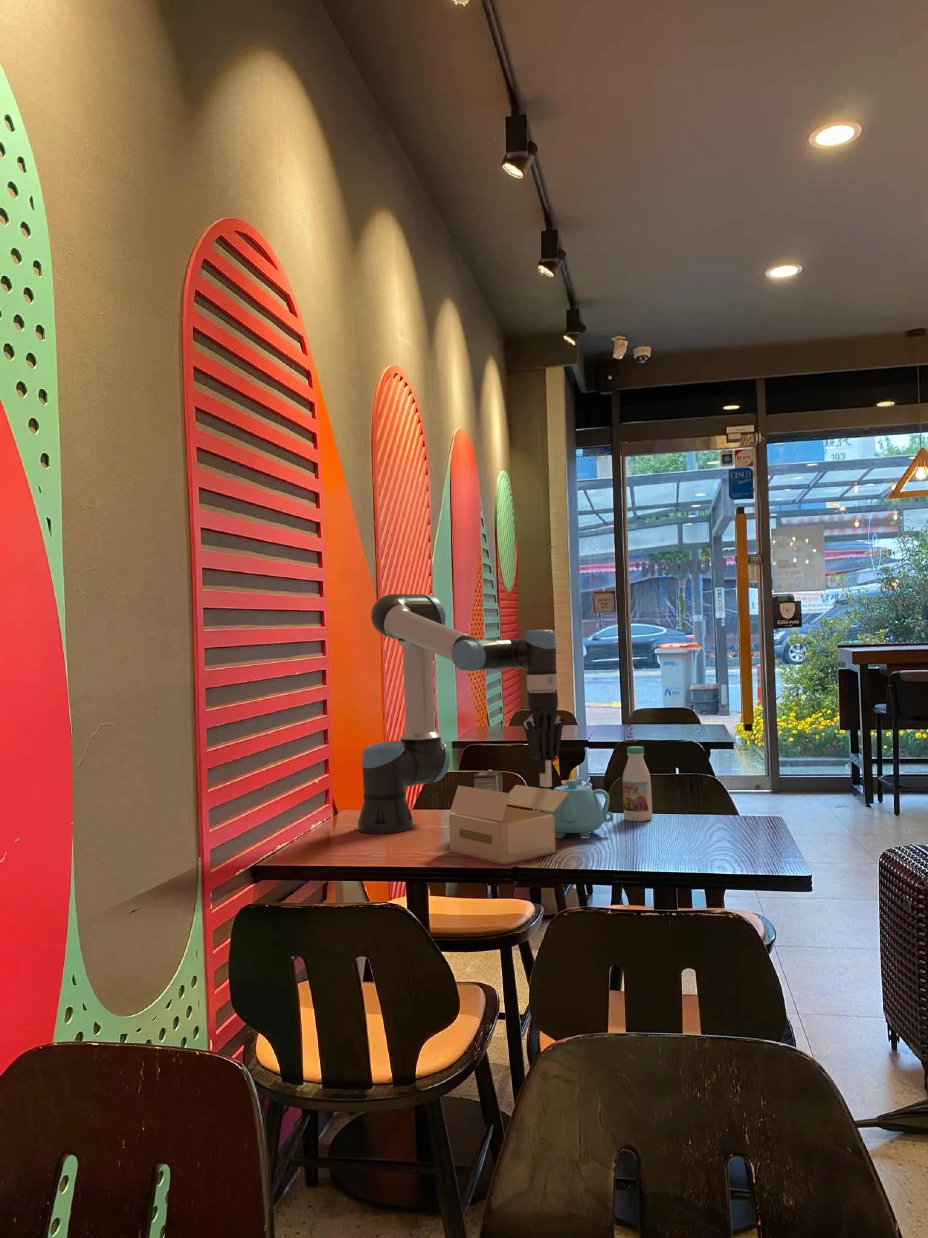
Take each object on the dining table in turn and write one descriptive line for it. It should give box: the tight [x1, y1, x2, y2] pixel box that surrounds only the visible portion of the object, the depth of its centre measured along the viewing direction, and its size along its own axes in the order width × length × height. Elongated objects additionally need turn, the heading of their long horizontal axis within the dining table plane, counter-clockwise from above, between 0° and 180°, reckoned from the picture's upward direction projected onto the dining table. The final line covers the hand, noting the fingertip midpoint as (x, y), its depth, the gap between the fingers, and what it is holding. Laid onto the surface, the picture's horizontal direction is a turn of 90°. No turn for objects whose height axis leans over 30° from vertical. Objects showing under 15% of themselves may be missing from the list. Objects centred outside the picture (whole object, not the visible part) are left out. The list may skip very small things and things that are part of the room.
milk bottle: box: [622, 745, 653, 822], centre depth 261 cm, size 8×8×20 cm
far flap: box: [507, 784, 569, 812], centre depth 232 cm, size 19×1×6 cm
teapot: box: [536, 774, 614, 838], centre depth 243 cm, size 16×20×14 cm
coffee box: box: [472, 770, 503, 792], centre depth 247 cm, size 9×6×16 cm
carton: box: [448, 805, 557, 866], centre depth 226 cm, size 21×16×9 cm
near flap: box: [450, 785, 510, 821], centre depth 222 cm, size 19×1×6 cm, turn 38°
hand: (546, 786), depth 235 cm, fingers closed
